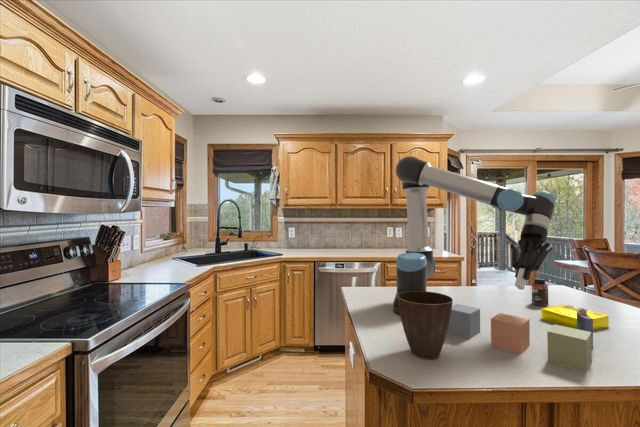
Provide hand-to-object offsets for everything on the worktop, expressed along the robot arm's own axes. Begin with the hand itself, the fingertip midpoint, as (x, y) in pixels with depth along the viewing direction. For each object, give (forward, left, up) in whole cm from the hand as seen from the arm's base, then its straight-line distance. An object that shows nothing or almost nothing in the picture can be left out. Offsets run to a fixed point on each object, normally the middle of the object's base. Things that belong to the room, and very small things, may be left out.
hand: (519, 287), depth 100 cm
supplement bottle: (+12, +45, -16) cm, 49 cm away
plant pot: (-25, -29, -16) cm, 41 cm away
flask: (+17, +1, -16) cm, 23 cm away
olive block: (+10, -16, -16) cm, 24 cm away
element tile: (+19, +23, -16) cm, 34 cm away
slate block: (-17, -6, -16) cm, 24 cm away
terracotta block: (-3, -11, -16) cm, 19 cm away
